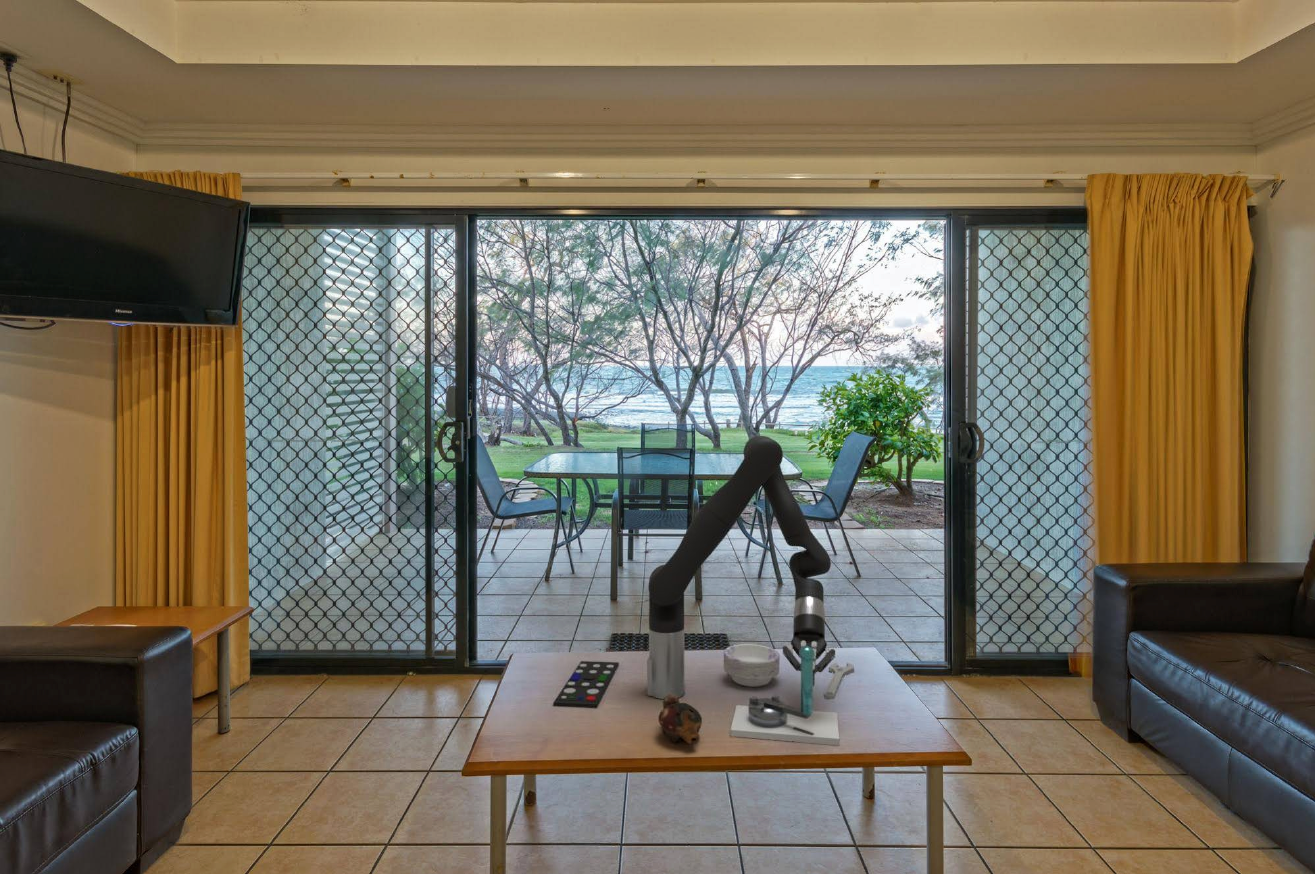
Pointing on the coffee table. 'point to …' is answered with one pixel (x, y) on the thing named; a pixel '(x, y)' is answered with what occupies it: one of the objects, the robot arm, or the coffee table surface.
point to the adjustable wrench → (837, 679)
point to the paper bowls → (751, 664)
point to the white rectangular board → (789, 728)
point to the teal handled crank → (776, 710)
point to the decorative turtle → (679, 720)
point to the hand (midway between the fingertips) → (808, 687)
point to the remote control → (587, 685)
